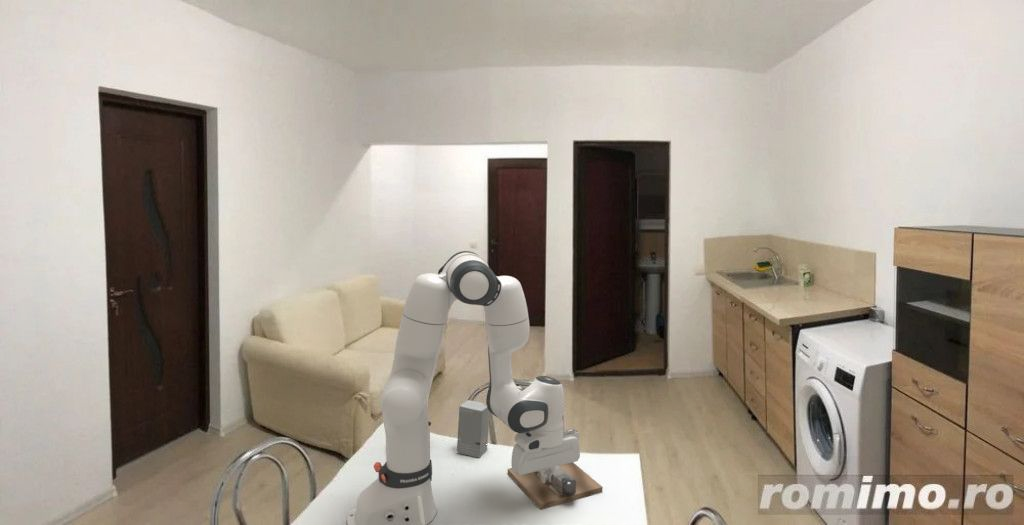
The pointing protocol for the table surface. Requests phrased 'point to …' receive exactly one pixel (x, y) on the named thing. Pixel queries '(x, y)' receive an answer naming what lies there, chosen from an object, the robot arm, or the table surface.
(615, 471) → the table surface
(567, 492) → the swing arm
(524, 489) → the label board
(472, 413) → the skincare box
